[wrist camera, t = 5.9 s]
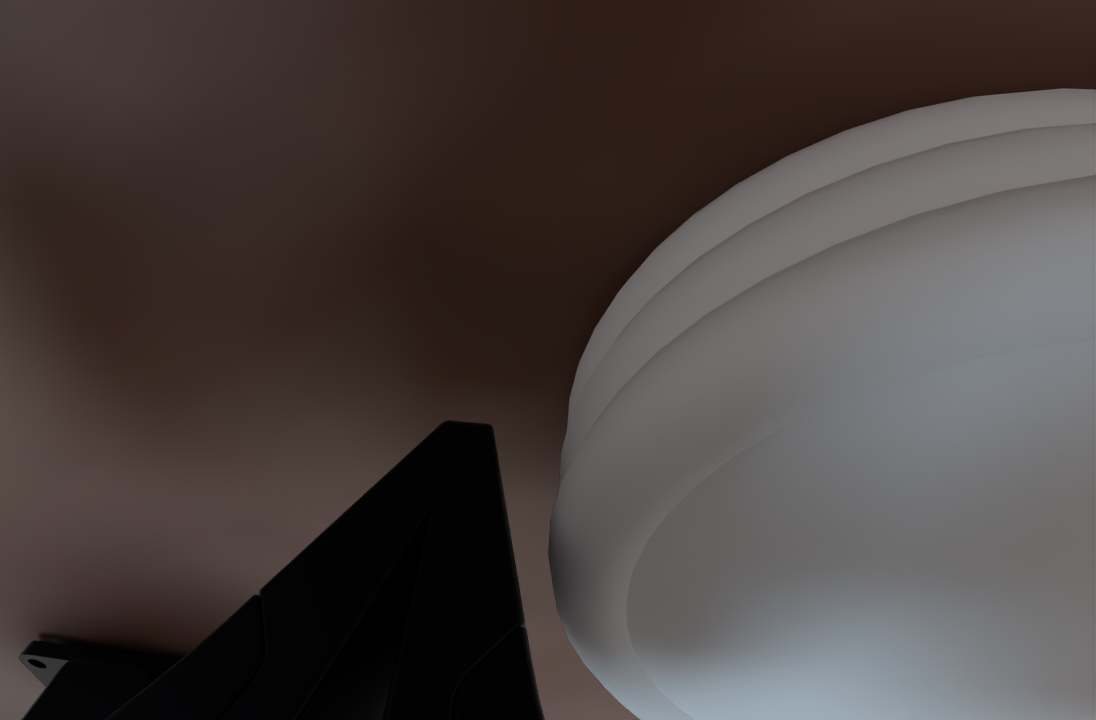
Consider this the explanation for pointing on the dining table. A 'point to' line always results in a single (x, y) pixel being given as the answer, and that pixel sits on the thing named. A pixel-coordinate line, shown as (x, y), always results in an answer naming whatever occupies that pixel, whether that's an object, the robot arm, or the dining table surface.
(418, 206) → the dining table surface
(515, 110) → the dining table surface
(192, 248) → the dining table surface
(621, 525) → the white round dish
